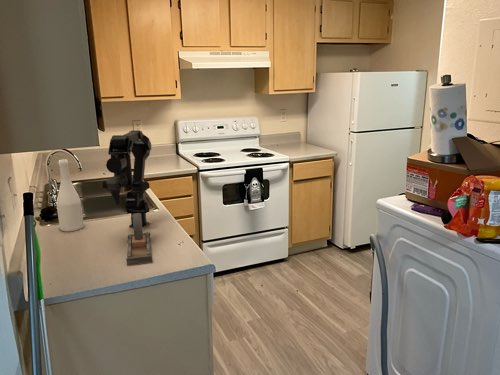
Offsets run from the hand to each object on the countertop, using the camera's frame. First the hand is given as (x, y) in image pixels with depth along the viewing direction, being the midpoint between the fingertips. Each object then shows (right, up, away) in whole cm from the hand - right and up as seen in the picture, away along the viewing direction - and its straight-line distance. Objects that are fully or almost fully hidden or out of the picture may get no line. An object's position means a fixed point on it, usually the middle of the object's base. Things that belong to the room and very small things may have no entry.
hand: (127, 205), depth 163 cm
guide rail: (+8, -16, -11) cm, 21 cm away
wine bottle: (-28, -11, +13) cm, 33 cm away
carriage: (+7, -14, -8) cm, 17 cm away
